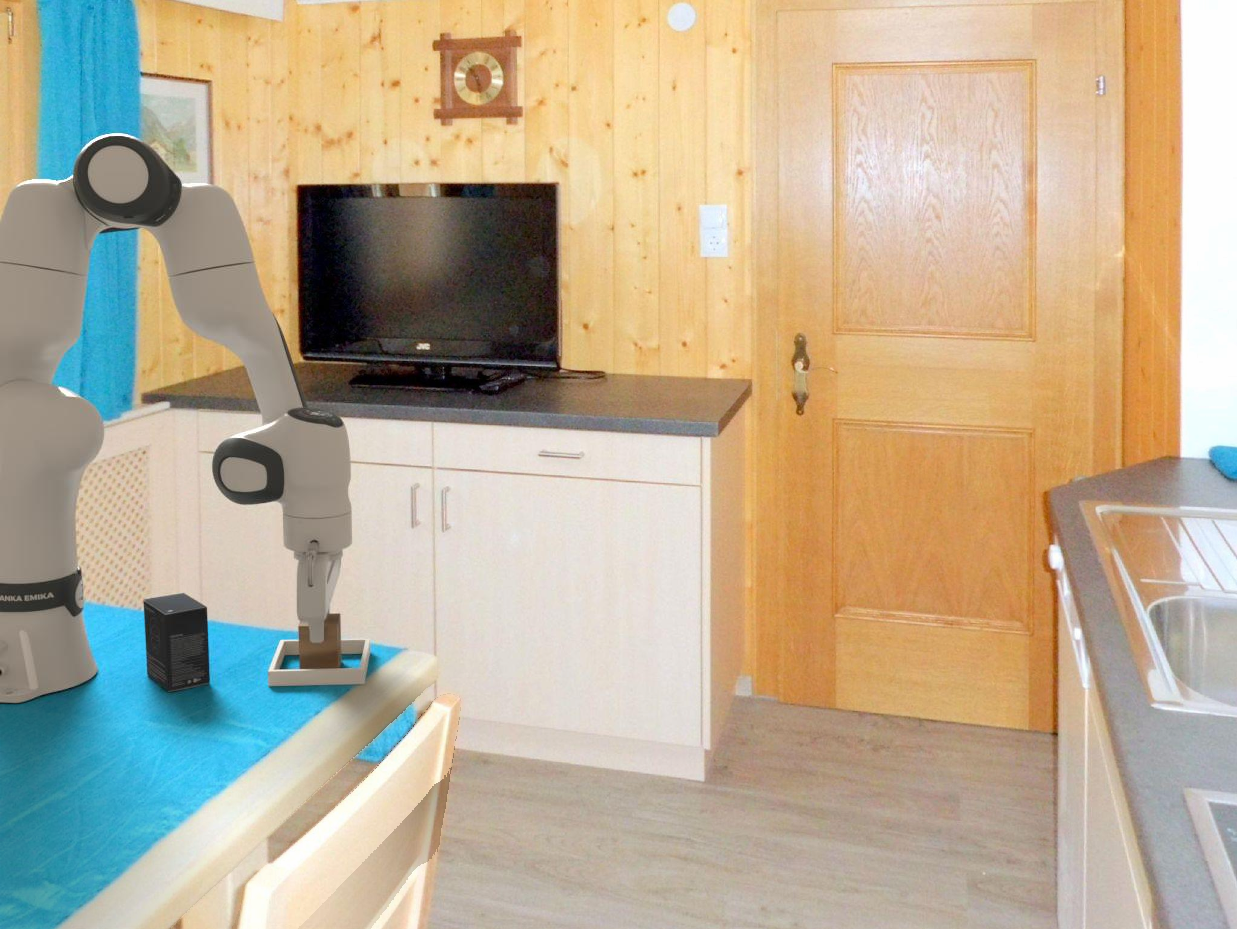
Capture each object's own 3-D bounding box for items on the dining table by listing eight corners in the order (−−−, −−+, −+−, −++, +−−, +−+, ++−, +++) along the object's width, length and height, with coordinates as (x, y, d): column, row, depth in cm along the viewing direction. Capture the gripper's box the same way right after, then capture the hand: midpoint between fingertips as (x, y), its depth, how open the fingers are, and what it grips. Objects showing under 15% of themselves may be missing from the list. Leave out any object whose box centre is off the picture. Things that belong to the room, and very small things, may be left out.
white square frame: (268, 686, 173) (267, 671, 172) (280, 653, 184) (280, 639, 184) (364, 684, 174) (364, 669, 174) (370, 652, 186) (370, 638, 185)
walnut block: (338, 675, 177) (337, 625, 176) (299, 676, 177) (298, 626, 175) (341, 662, 182) (340, 613, 181) (304, 663, 181) (302, 613, 180)
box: (211, 684, 173) (208, 606, 171) (168, 693, 170) (164, 614, 167) (188, 666, 179) (184, 591, 177) (145, 675, 175) (141, 598, 173)
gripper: (335, 553, 166) (337, 658, 168) (348, 513, 186) (350, 608, 188) (283, 553, 165) (286, 659, 168) (302, 513, 185) (304, 609, 188)
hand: (320, 632), depth 178 cm, fingers open, 5 cm apart
